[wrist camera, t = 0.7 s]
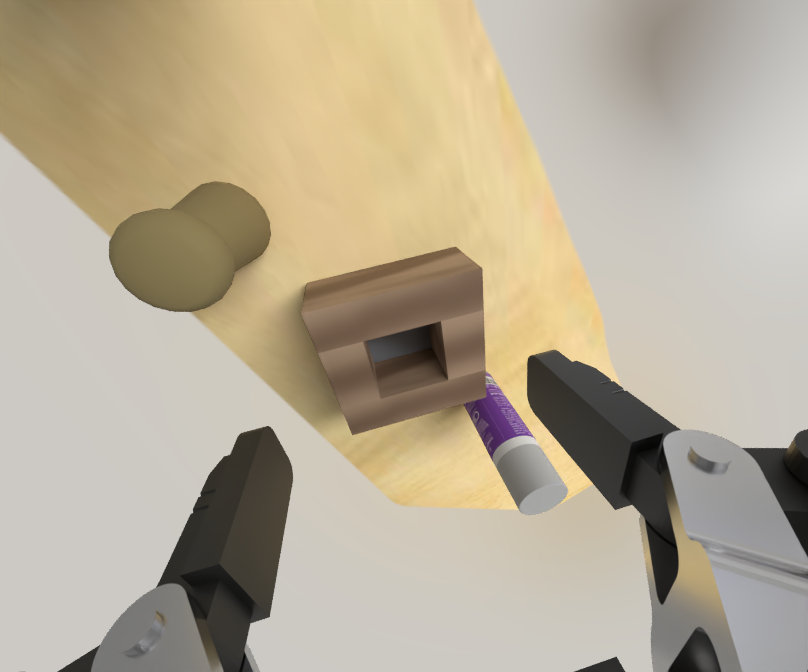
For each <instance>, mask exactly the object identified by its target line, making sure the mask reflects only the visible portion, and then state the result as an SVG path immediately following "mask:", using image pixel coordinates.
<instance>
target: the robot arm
mask: <svg viewBox="0 0 808 672" xmlns="http://www.w3.org/2000/svg"><path fill="white" fill-rule="evenodd" d="M527 397H528V401H529V404H530V407H531V409H532V410H533V412H534V414H535V415H536V416H537V417H538V418H539V420H540V421H541V422H542V423H543V424H544V426H545V427H546V428H547V429H548V430H549V432H550V433H551V434H552V435H553V436H554V437H555V439H556V440H557V441H558V442H559V443H560V445H561V446H562V447H563V448H564V449H565V451H566V452H567V453H568V454H569V455H570V457H571V458H572V459H573V460H574V461H575V462H576V464H577V465H578V466H579V467H580V468H581V470H582V471H583V472H584V473H585V474H586V476H587V477H588V478H589V479H590V480H591V482H592V483H593V484H594V485H595V486H596V488H597V489H598V490H599V491H600V492H601V493H602V495H603V496H604V497H605V498H606V499H607V501H608V502H609V503H610V504H611V505H612V506H613V508H614V509H615V510H617V509H620V508H623V507H626V506H629V505H633V506H634V507H635V508H636V509H637V510H638V511H639V512H640V513H641V514H640V519H639V521H640V529H641V536H642V543H643V550H644V557H645V564H646V571H647V577H648V584H649V591H650V598H651V605H652V628H651V654H652V664H653V672H808V429H807V430H804V431H801V432H799V433H798V434H797V435H796V436H795V438H794V440H793V441H792V443H791V445H790V446H789V448H740V447H739V446H738V445H736V444H734V443H732V442H730V441H729V440H726V439H724V438H722V437H719V436H717V435H714V434H710V433H707V432H702V431H697V430H680V429H679V428H677V427H676V426H675V425H673V424H672V423H670V422H669V421H668V420H666V419H665V418H664V417H662V416H661V415H659V414H658V413H657V412H655V411H654V410H652V409H651V408H650V407H648V406H647V405H645V404H644V403H643V402H641V401H640V400H639V399H637V398H636V397H634V396H633V395H632V394H630V393H629V392H628V391H624V390H623V388H622V387H621V386H619V385H618V384H617V383H615V382H614V381H613V382H611V380H610V378H608V377H607V376H605V375H604V374H603V373H601V372H600V371H599V370H597V369H596V368H594V367H591V366H588V365H586V364H583V363H581V362H578V361H574V362H571V361H570V360H569V359H568V358H566V357H565V356H564V355H562V354H561V353H560V352H558V351H557V350H550V351H547V352H543V353H539V354H536V355H532V356H530V357H529V358H528V363H527ZM292 482H293V472H292V466H291V463H290V460H289V458H288V456H287V455H286V453H285V451H284V449H283V447H282V445H281V444H280V442H279V440H278V438H277V436H276V435H275V433H274V431H273V429H271V427H269V426H266V427H263V428H259V429H255V430H251V431H247V432H244V433H241V434H240V435H239V436H238V438H237V440H236V442H235V445H234V447H233V450H232V452H231V454H230V455H228V456H225V457H223V459H222V460H221V461H220V462H219V463H218V464H217V466H216V467H215V468H214V469H213V470H212V472H211V473H210V474H209V476H208V478H207V480H206V483H205V485H204V487H203V489H202V491H201V497H198V500H197V502H196V504H195V506H194V508H193V513H192V514H191V515H190V517H189V519H188V521H187V523H186V525H185V528H184V530H183V532H182V534H181V536H180V538H179V541H178V543H177V545H176V547H175V549H174V551H173V553H172V556H171V558H170V560H169V562H168V564H167V567H166V569H165V571H164V573H163V575H162V577H161V579H160V582H159V583H158V585H157V587H156V588H155V589H153V590H151V591H149V592H148V593H146V594H144V595H143V596H142V597H140V598H139V599H138V600H136V602H135V603H133V604H132V605H131V606H130V607H129V608H128V609H127V610H126V611H125V612H124V613H123V614H122V615H121V616H120V617H119V619H118V620H117V621H116V622H115V623H114V625H113V626H112V627H111V629H110V630H109V632H108V633H107V635H106V636H105V638H104V639H103V641H102V643H101V645H99V646H98V647H96V648H95V649H93V650H91V651H90V652H88V653H87V654H85V655H83V656H82V657H80V658H79V659H77V660H75V661H74V662H72V663H71V664H69V665H67V666H66V667H64V668H63V669H61V670H59V671H58V672H260V671H259V668H258V666H257V664H256V662H255V659H254V657H253V655H252V653H251V650H250V648H249V647H248V645H247V644H246V641H247V636H248V631H249V627H250V623H252V622H256V621H259V620H262V619H265V618H268V617H270V611H271V605H272V600H273V594H274V588H275V582H276V576H277V570H278V564H279V558H280V553H281V547H282V541H283V535H284V529H285V523H286V518H287V512H288V506H289V500H290V494H291V488H292ZM575 672H625V671H624V669H623V667H622V665H621V664H620V662H619V660H618V659H617V657H614V658H612V659H609V660H606V661H603V662H600V663H597V664H595V665H592V666H589V667H586V668H583V669H580V670H578V671H575Z"/></svg>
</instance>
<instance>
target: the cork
mask: <svg viewBox="0 0 808 672" xmlns="http://www.w3.org/2000/svg"><path fill="white" fill-rule="evenodd" d="M270 236H271V232H270V222H269V220H268V217H267V215H266V213H265V210H264V209H263V207H262V206H261V205H260V204H259V202H258V201H257V200H256V199H255V198H254V197H253V196H252V195H250V194H249V193H248V192H246V191H245V190H244V189H242V188H239V187H237V186H235V185H232V184H230V183H223V182H211V183H206V184H202V185H200V186H199V187H197V188H196V189H195V190H193V191H192V192H190V193H189V194H188V195H187V196H186V197H185V198H183V199H182V200H181V201H180V202H179V203H178V204H176V205H175V206H174V207H173V208H172V209H171V210H168V209H153V210H149V211H145V212H140V213H137V214H134V215H132V216H131V217H129V218H128V219H126V220H125V221H124V222H122V223H121V224H120V225H119V226H118V227H117V229H116V230H115V232H114V234H113V236H112V238H111V240H110V242H109V258H110V262H111V265H112V267H113V270H114V273H115V275H116V277H117V278H118V279H119V281H120V282H121V283H122V285H123V286H124V287H125V288H126V289H127V290H128V291H129V292H131V293H132V294H133V295H134V296H136V297H137V298H138V299H139V300H141V301H143V302H145V303H148V304H150V305H152V306H154V307H157V308H161V309H165V310H169V311H175V312H192V311H196V310H200V309H204V308H207V307H209V306H211V305H212V304H214V303H215V302H217V301H219V300H220V299H222V297H223V296H224V295H225V293H226V292H227V290H228V289H229V287H230V286H231V285H232V281H233V277H234V272H235V271H236V270H238V269H240V268H241V267H243V266H244V265H246V264H247V263H249V262H251V261H252V260H254V259H255V258H257V257H258V256H260V255H261V254H262V253H263V252H264V250H265V249H266V248H267V246H268V244H269V240H270Z"/></svg>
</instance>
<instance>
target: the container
mask: <svg viewBox="0 0 808 672" xmlns="http://www.w3.org/2000/svg"><path fill="white" fill-rule="evenodd" d="M464 406H465V408H466V410H467V412H468V414H469V416H470V418H471V420H472V421H473V423H474V425H475V427H476V429H477V431H478V433H479V435H480V437H481V439H482V441H483V443H484V445H485V447H486V449H487V451H488V453H489V455H490V457H491V459H492V461H493V463H494V464H495V466H496V468H497V470H498V472H499V474H500V475H501V477H502V479H503V481H504V483H505V485H506V486H507V488H508V490H509V492H510V494H511V496H512V497H513V499H514V501H515V503H516V505H517V507H518V509H519V510H520V512H521V513H523V514H526V515H534V514H539V513H542V512H545V511H548V510H550V509H552V508H553V507H555V506H557V505H558V504H559V503H560V502H562V501H563V500H564V498H565V497H566V495H567V493H568V489H567V487H566V485H565V484H564V482H563V481H562V479H561V478H560V476H559V475H558V473H557V472H556V470H555V469H554V467H553V466H552V464H551V462H550V461H549V459H548V458H547V456H546V455H545V453H544V452H543V450H542V449H541V447H540V446H539V444H538V443H537V441H536V439H535V438H534V437H533V435H532V434H531V432H530V431H529V429H528V428H527V427H526V425H525V424H524V422H523V421H522V419H521V418H520V416H519V415H518V414H517V412H516V411H515V409H514V408H513V406H512V405H511V404H510V402H509V401H508V399H507V398H506V396H505V395H504V393H503V392H502V391H501V389H500V388H499V386H498V385H497V383H496V382H495V381H494V379H493V378H492V376H491V375H490V374H489V373H488V372H486V397H485V398H482V399H478V400H475V401H471V402H468V403H464Z"/></svg>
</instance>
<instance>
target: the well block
mask: <svg viewBox="0 0 808 672" xmlns="http://www.w3.org/2000/svg"><path fill="white" fill-rule="evenodd" d="M301 315H302V318H303V320H304V322H305V325H306V327H307V329H308V332H309V334H310V336H311V339H312V341H313V343H314V346H315V348H316V350H317V353H318V355H319V358H320V360H321V362H322V365H323V367H324V369H325V372H326V374H327V376H328V379H329V381H330V383H331V386H332V388H333V390H334V393H335V395H336V397H337V400H338V402H339V405H340V407H341V409H342V412H343V414H344V416H345V419H346V421H347V423H348V426H349V428H350V430H351V433H352V435H354V434H358V433H362V432H365V431H369V430H372V429H376V428H379V427H383V426H386V425H390V424H393V423H397V422H400V421H404V420H407V419H411V418H415V417H418V416H422V415H425V414H429V413H432V412H436V411H439V410H443V409H446V408H450V407H453V406H457V405H461V404H464V403H468V402H471V401H475V400H478V399H482V398H485V397H486V369H485V338H484V307H483V277H482V268H481V267H480V266H479V265H477V264H476V263H475V262H474V261H473V260H471V259H470V258H469V257H468V256H466V255H465V254H464V253H463V252H461V251H460V250H459V249H458V248H456V247H453V248H449V249H445V250H440V251H436V252H432V253H428V254H424V255H420V256H416V257H412V258H408V259H404V260H400V261H395V262H391V263H387V264H383V265H379V266H375V267H371V268H367V269H363V270H359V271H355V272H350V273H346V274H342V275H338V276H334V277H330V278H326V279H322V280H318V281H314V282H309V283H307V285H306V290H305V295H304V301H303V306H302V311H301Z"/></svg>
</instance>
